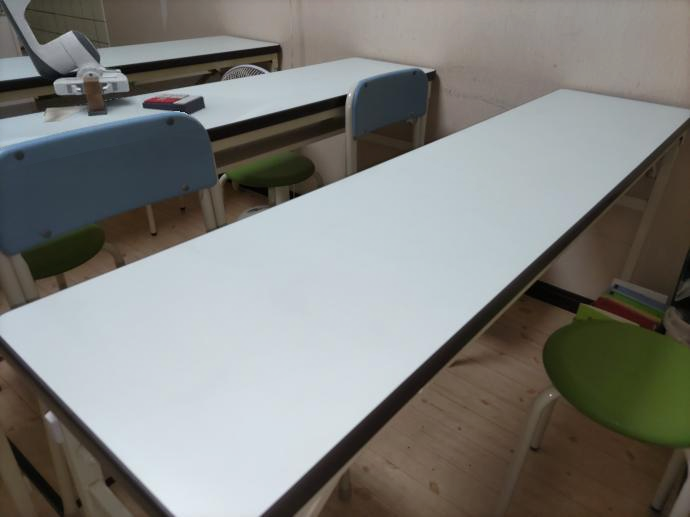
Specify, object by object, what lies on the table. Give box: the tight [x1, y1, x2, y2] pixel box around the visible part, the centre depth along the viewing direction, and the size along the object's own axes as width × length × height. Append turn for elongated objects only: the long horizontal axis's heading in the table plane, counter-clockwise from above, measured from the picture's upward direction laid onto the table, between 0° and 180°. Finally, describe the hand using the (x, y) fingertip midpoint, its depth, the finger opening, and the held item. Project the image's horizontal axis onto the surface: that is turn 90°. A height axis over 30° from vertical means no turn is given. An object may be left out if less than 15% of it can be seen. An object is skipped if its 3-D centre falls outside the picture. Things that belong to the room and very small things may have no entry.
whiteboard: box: [42, 105, 88, 124], centre depth 149 cm, size 20×16×1 cm
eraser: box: [83, 77, 108, 117], centre depth 148 cm, size 5×10×9 cm, turn 23°
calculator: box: [142, 93, 206, 115], centre depth 157 cm, size 11×4×15 cm
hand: (92, 91), depth 147 cm, fingers open, 6 cm apart
